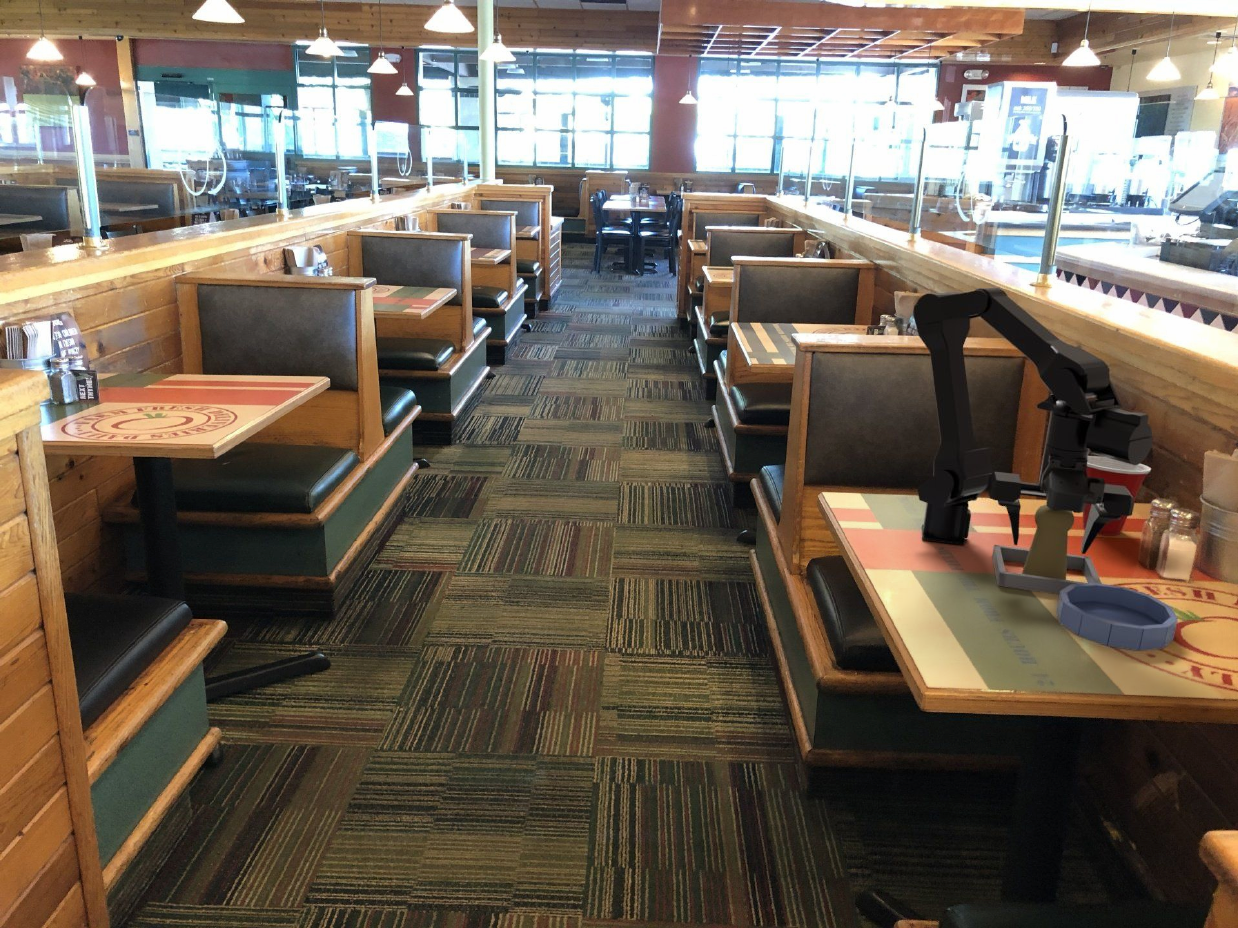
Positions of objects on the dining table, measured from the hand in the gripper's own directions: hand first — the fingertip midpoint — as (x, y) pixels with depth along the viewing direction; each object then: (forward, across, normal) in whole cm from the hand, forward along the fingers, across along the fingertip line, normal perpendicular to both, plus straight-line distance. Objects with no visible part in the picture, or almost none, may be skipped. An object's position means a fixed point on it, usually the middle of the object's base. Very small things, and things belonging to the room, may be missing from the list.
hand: (1048, 548), depth 143 cm
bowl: (+4, +7, -14) cm, 16 cm away
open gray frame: (+4, 0, 0) cm, 4 cm away
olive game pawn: (+5, 0, 0) cm, 5 cm away
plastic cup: (+5, +12, +26) cm, 29 cm away
